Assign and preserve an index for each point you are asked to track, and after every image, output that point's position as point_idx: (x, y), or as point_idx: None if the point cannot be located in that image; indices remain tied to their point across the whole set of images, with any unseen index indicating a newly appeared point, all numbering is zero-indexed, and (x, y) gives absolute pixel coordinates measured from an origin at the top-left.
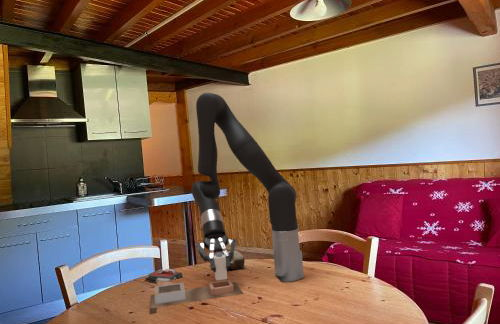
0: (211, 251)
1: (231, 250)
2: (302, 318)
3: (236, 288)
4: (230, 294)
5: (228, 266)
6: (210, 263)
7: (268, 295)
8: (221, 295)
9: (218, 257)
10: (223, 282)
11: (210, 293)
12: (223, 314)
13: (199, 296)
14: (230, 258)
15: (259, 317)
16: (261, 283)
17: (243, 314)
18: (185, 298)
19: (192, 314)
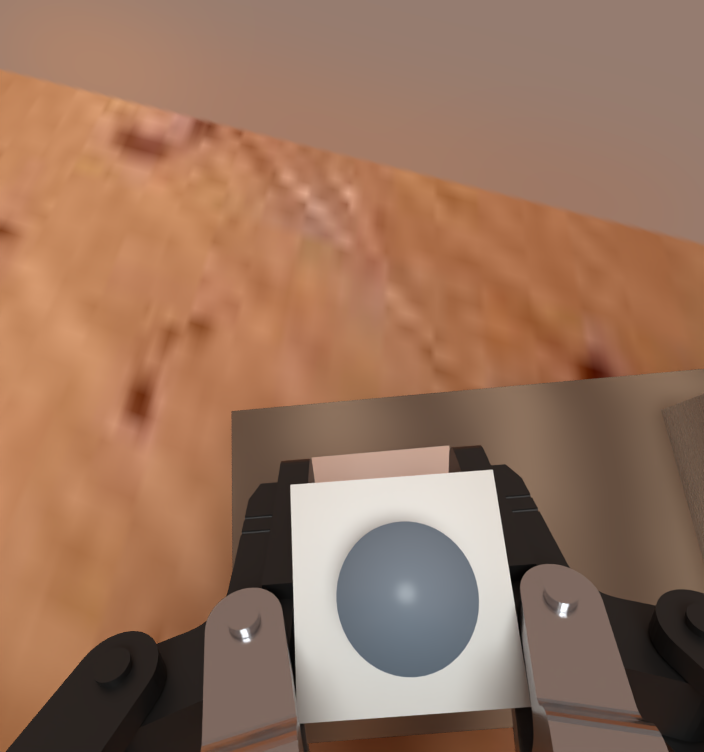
0: (603, 717)
1: (93, 716)
2: (48, 90)
3: None
4: (325, 428)
5: (283, 462)
6: (543, 522)
7: (74, 421)
8: (392, 431)
9: (417, 510)
10: None
11: None
12: (394, 223)
13: (563, 468)
14: None
15: (222, 144)
16: (19, 733)
17: (290, 195)
18: (672, 406)
19: (573, 271)
